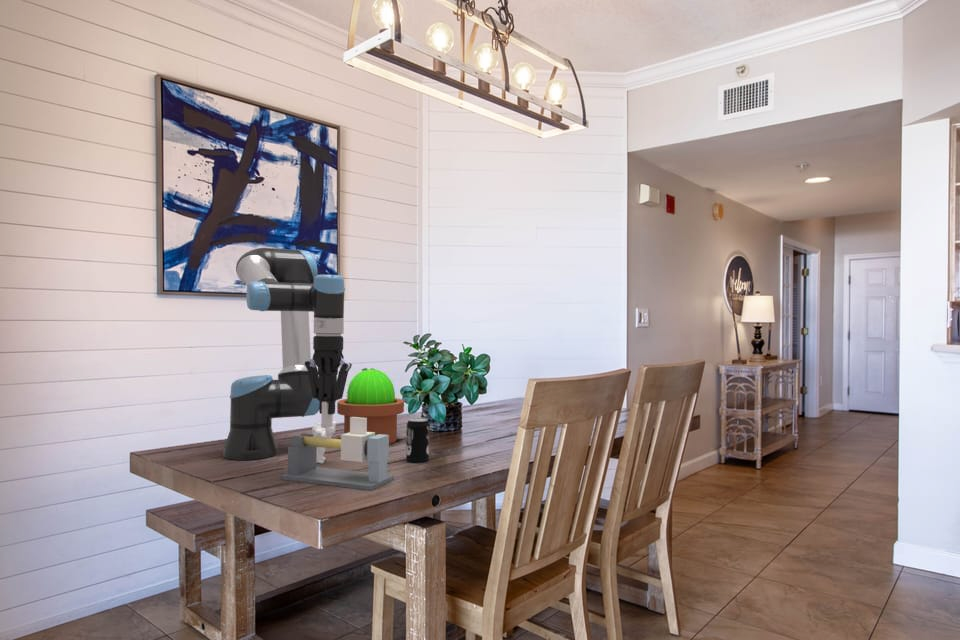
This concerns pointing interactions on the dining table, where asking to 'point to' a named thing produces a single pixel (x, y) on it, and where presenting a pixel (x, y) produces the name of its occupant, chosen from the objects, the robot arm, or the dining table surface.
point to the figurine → (322, 433)
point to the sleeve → (355, 440)
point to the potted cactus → (372, 403)
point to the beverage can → (417, 440)
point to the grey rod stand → (306, 470)
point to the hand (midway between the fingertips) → (327, 426)
